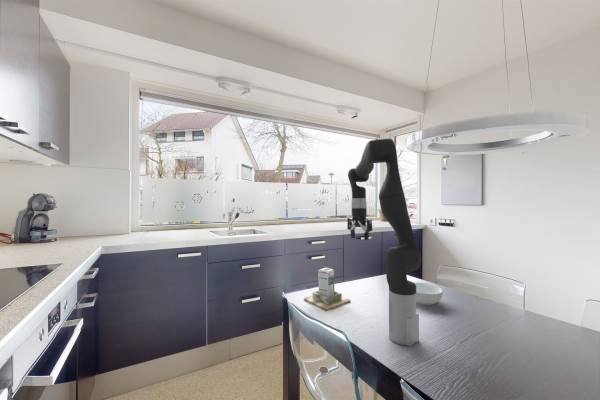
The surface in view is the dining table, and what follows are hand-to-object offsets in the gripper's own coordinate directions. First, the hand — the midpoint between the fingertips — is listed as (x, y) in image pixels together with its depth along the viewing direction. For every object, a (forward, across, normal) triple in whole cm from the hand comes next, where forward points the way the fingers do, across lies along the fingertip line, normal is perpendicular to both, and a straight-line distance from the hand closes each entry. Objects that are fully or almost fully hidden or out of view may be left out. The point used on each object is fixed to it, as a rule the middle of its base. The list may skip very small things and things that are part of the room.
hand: (359, 238), depth 136 cm
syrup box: (+29, -7, -17) cm, 34 cm away
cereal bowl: (+30, +23, +18) cm, 42 cm away
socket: (+29, -6, -17) cm, 35 cm away
